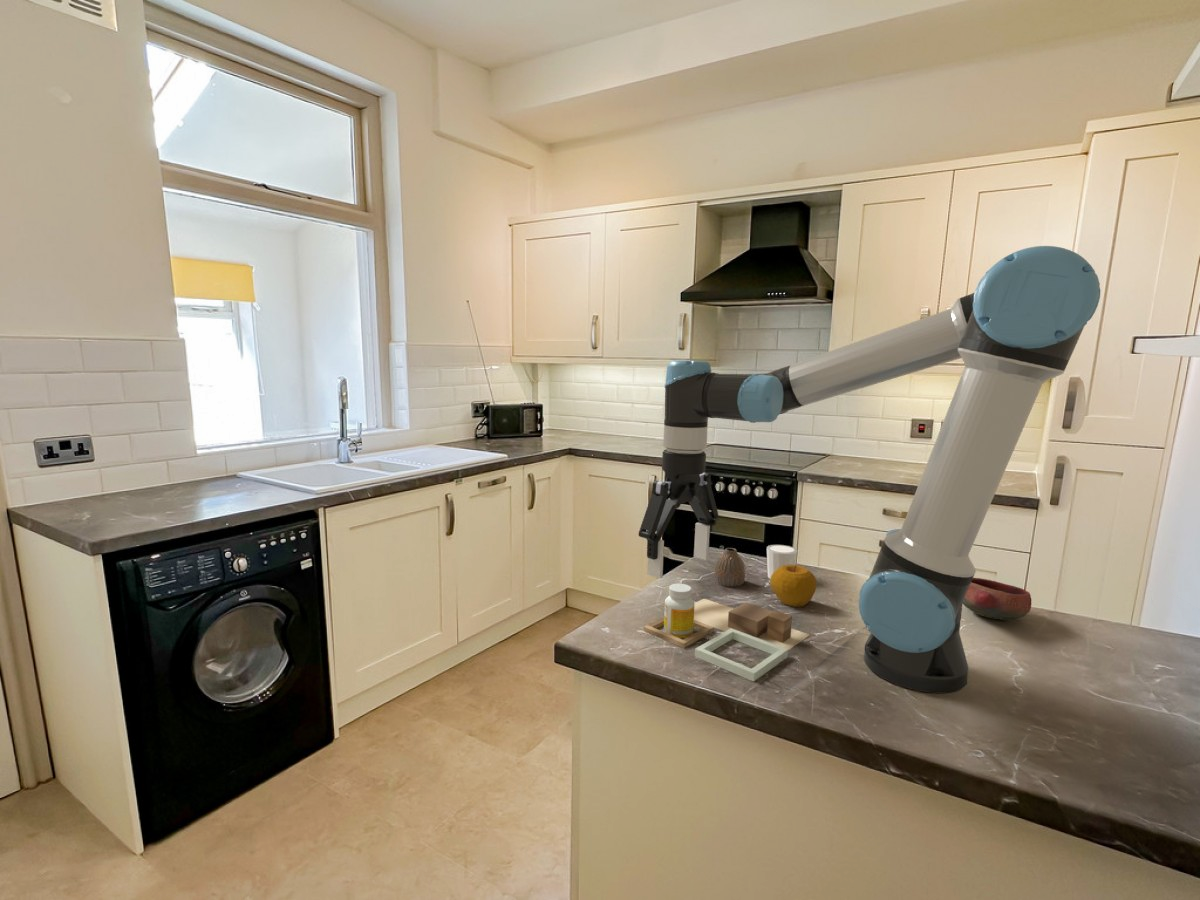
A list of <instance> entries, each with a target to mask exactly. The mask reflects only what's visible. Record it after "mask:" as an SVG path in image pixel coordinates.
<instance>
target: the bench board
mask: <svg viewBox="0 0 1200 900" xmlns="http://www.w3.org/2000/svg"><path fill="white" fill-rule="evenodd" d="M694 604H695V607H694V620H696V621H698V622H701V623H704V624H706V625H709V626H712V627H714V629H716V630H719V631H722V632H723V633H724V632H725V631H727V630H729V629H731V628H729V627H728V614H729V611H731V610H733V609H734V608H733V607H731V606H728V605H725V604H721V603H718V602H716V601H712V600H710V599H707V598H702V599H700V600H698V601H696V602H694ZM773 612H774V613H772V614H771V615H769V616H768V629H767V632H765V633H764V634H762V635H760V636H759V637H757V638H759V639H761V640H764V641H767V642H769V643H772V644H775V645H777V646H780V647H783V648H786V649H788V651H790V650H791V649H793V648H794V647H795V646H797V645H798V644H799V643H801V642H803V641H804V640H805V639H807V638H808V637H809V636H811V634H808V633H806V632H803V631H802V630H797V629H794V628H792V621H793V616H792V615H789V614H787V613H783V612H781V611H773ZM734 630H735V629H734ZM737 631H738V630H737ZM742 633H743V632H742ZM745 634H746V633H745ZM750 636H751V635H750ZM753 637H754V636H753Z"/></svg>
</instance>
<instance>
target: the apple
mask: <svg viewBox="0 0 1200 900" xmlns="http://www.w3.org/2000/svg"><path fill="white" fill-rule="evenodd" d="M769 584H770V588H771V589H772V591H773V593H774V595H775V596H776V597H777V599H779V602H781V603H783V604H784V605H786V606H789V607H796V608H799V607H804V606H806V605H807V604H808V603H809V602H810V601H811V600H812V599H813V596H814V595H815V593H816V590H817V579H816V576H815V575H814V574H813V573H812V571H810V569H807V568H806V567H803V566H801V565H796V564H795V565H783V566H781V567H779V568H778V569H777V570H776V571H775V572H774V573H773V574H772V575H771V578H769Z"/></svg>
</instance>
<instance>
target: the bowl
mask: <svg viewBox="0 0 1200 900" xmlns="http://www.w3.org/2000/svg"><path fill="white" fill-rule="evenodd" d="M1031 597H1032V595H1031V593H1030V592H1029V591H1027V590H1026V589H1025V588H1024V589H1023V588H1021V587H1017V586H1014V585H1011V584H1006V583H1003V582H999V581H995V580H991V579H986V578H982V577H981V578H980V577H973V579H972V581H971V584H970V586H969V588H968V590H967V593H966V595H965V597H964V600H963V603H962V606H964V607H965V608H967V609H968V610H969V611H971V612H973V613H975V614H977V615H980V616H982V617H985V618H986V617H987V618H990V619H995V620H1003V621H1004V620H1005V621H1012V620H1019V619H1021V618H1023V617H1025V616H1026V615H1027V614H1029V612H1030V611H1031V609H1032V598H1031Z"/></svg>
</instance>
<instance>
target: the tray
mask: <svg viewBox="0 0 1200 900" xmlns="http://www.w3.org/2000/svg"><path fill="white" fill-rule="evenodd" d="M732 640H734V641H737V642H739V643H742V644H745V645H748V646H750V647H752V648H755V649H757V650H760V651H763V652H764V653H768V654H770V655H769V656H768V657H767V658H764V660H762V661H761V662H759V663H758V664H756V665H755V666H753V667H752V668H750V667H748V666H745V665H743V664H741V663H738V662H736V661H735V660H731V659H730V658H726V657H724V656H722V655H719V654H717V653H714V652H713V651H714V650H717V649H718V648H719V647H721V646H723V645H725V644H727V643H728V642H730V641H732ZM694 657H695V658H697V659H700V660H702V661H704V662H706V663H709V664H712V665H713V666H716V667H719V668H720V669H723V670H726V671H728V672H730V673H732V674H734V675H738V676H740V677H742V678H744V679H745V680H749V681H751V682H755V681H756V680H759V678H761V677H762V676H764V675H765V674H766V673H768V672H769V671H771V670H772V669H773V668H775V667H776V666H777V665H779V664H780V663H781V662H783V661H784V660H786V659H787V658H788V657H789V650H788V649H786V648H783V647H780V646H777V645H775V644H772V643H769V642H767V641H764V640H761V639H759V638H756V637H753V636H750V635H748V634H745V633H742V632H740V631H737V630H734V629H732V628H731V629H729V630H727V631H725V632H724V631H723V632H722V633H720V634H718V635H717V636H715V637H713V638H711V639H709V640H708V641H706V642H705V643H702V644H701V645H700V646H697V647H696V648H694Z"/></svg>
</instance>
